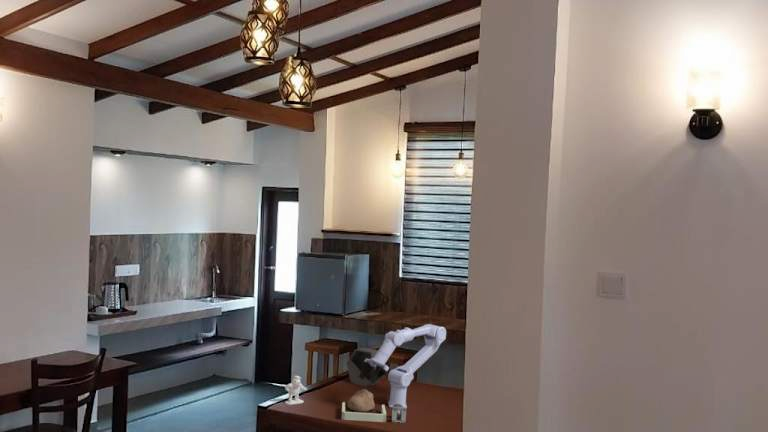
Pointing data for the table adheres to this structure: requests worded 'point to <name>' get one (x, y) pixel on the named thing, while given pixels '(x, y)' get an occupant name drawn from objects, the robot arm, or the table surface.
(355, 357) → the planter
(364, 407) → the stone
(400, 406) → the wheel
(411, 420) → the table surface
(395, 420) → the axle mount
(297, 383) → the figurine
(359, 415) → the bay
